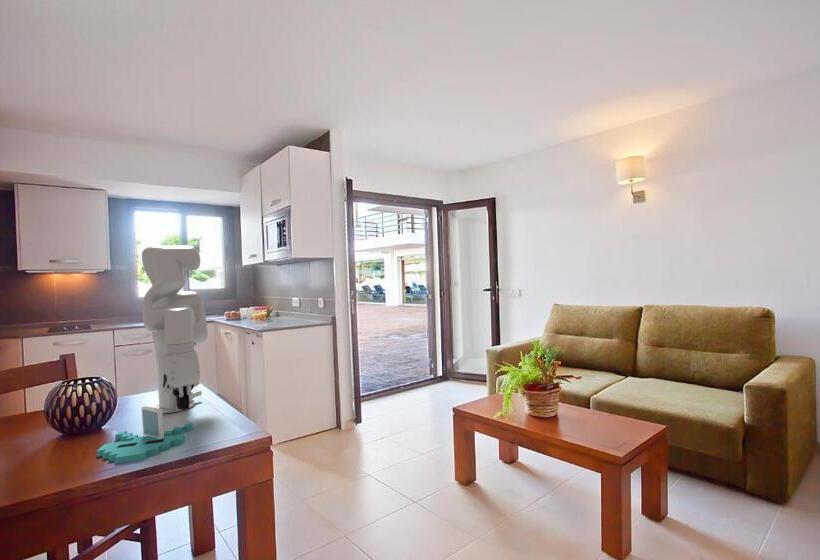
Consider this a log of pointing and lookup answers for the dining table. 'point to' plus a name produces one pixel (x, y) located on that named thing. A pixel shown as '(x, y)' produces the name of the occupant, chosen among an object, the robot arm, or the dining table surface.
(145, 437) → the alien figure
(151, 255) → the robot arm
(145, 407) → the tile
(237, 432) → the dining table surface
